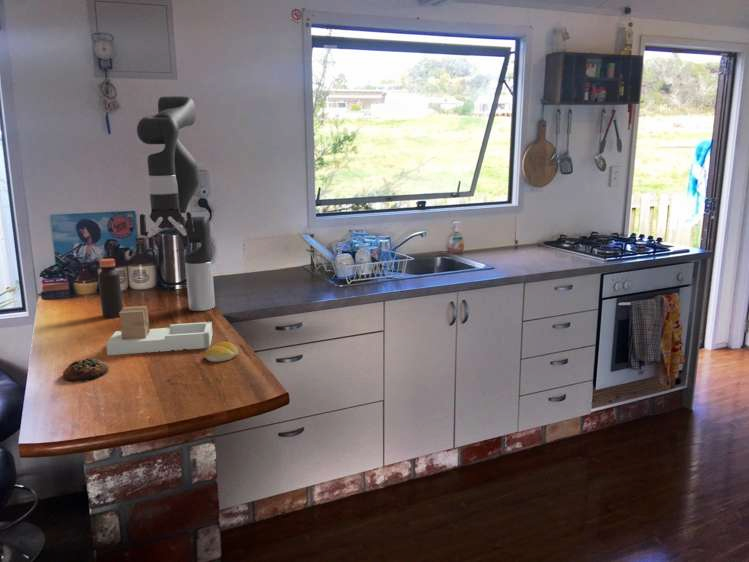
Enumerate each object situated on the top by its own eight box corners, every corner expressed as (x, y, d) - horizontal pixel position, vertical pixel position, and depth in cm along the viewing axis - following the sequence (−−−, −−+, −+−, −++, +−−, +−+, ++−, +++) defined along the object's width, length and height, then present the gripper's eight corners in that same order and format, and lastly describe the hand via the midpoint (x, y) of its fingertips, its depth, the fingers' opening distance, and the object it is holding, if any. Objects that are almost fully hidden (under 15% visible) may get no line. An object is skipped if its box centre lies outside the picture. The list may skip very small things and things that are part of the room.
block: (126, 333, 184) (123, 307, 182) (149, 331, 185) (146, 305, 183) (122, 339, 178) (119, 312, 176) (145, 338, 179) (143, 311, 177)
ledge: (116, 342, 187) (115, 331, 186) (171, 338, 190) (170, 327, 189) (107, 355, 175) (106, 343, 175) (166, 351, 178) (165, 339, 177)
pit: (171, 338, 190) (170, 324, 189) (212, 335, 192) (211, 321, 191) (166, 351, 178) (164, 336, 177) (209, 347, 180) (208, 333, 179)
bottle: (116, 318, 213) (109, 261, 208) (98, 318, 214) (91, 261, 210) (127, 313, 219) (121, 258, 215) (110, 312, 221) (104, 257, 216)
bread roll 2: (199, 361, 170) (198, 347, 169) (219, 351, 178) (217, 337, 177) (224, 364, 167) (223, 350, 166) (243, 354, 175) (242, 340, 174)
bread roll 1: (74, 385, 153) (71, 366, 153) (56, 381, 161) (53, 362, 160) (117, 374, 161) (114, 355, 161) (98, 370, 169) (95, 352, 168)
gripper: (191, 190, 177) (196, 246, 180) (139, 191, 174) (144, 248, 177) (189, 192, 169) (194, 250, 173) (134, 193, 167) (140, 253, 170)
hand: (169, 249), depth 175 cm, fingers open, 8 cm apart
